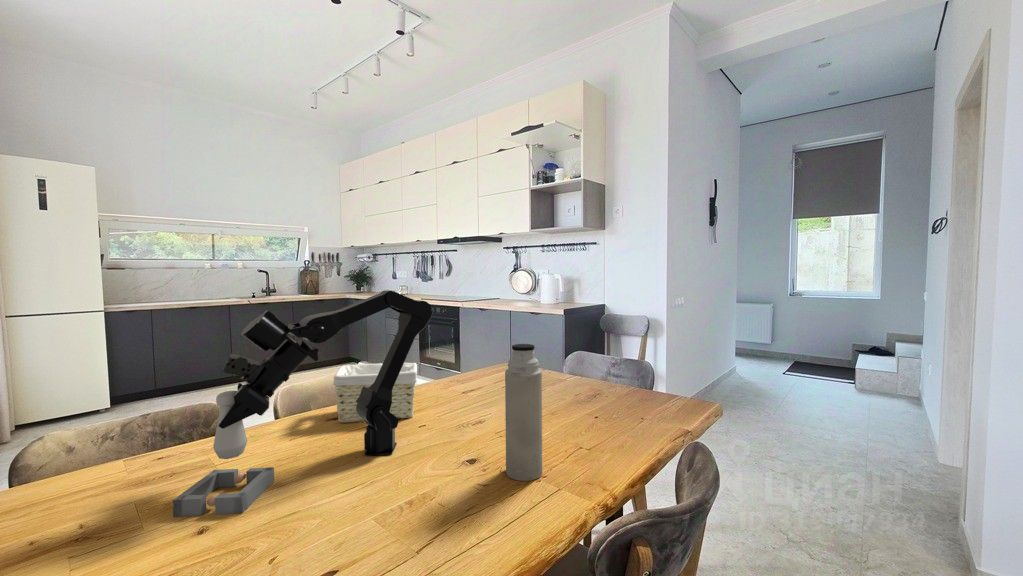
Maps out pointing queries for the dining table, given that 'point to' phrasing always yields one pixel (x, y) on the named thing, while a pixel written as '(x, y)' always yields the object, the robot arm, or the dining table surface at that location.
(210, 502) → the plunger left
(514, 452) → the thermos bottle
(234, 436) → the salt shaker
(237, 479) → the plunger right
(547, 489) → the dining table surface
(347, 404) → the storage basket
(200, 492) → the grey square frame
